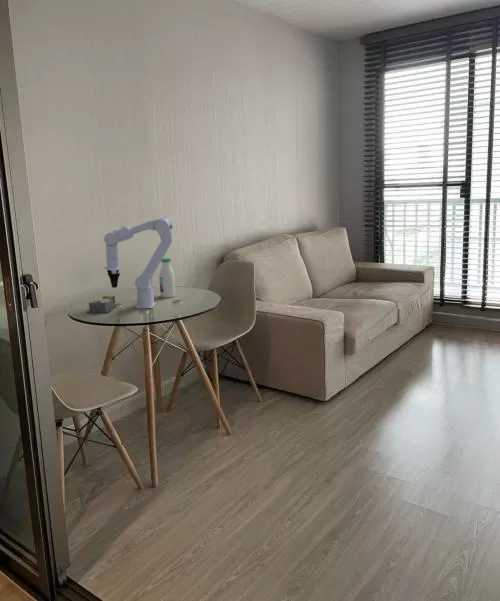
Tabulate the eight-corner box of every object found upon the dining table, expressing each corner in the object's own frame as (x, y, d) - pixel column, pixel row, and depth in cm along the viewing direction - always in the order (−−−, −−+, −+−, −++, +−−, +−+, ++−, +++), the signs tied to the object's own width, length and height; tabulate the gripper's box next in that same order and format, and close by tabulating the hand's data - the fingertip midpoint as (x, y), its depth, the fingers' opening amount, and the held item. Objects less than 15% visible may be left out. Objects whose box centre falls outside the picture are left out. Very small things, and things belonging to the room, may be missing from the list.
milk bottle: (176, 294, 285) (175, 257, 281) (173, 298, 278) (171, 259, 273) (162, 294, 286) (160, 257, 281) (158, 297, 279) (156, 259, 274)
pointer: (95, 306, 257) (94, 299, 256) (110, 306, 256) (109, 299, 255) (93, 307, 255) (93, 300, 254) (108, 307, 254) (108, 300, 253)
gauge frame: (95, 307, 262) (95, 297, 260) (116, 307, 261) (115, 297, 260) (87, 313, 250) (86, 302, 249) (108, 313, 250) (107, 302, 248)
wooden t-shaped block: (103, 303, 266) (103, 295, 266) (115, 303, 266) (114, 295, 265) (96, 308, 257) (96, 300, 256) (109, 308, 257) (108, 300, 256)
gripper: (103, 255, 262) (104, 283, 265) (104, 260, 248) (106, 289, 251) (118, 255, 264) (119, 282, 267) (120, 259, 250) (121, 288, 253)
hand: (114, 285), depth 259 cm, fingers open, 7 cm apart
